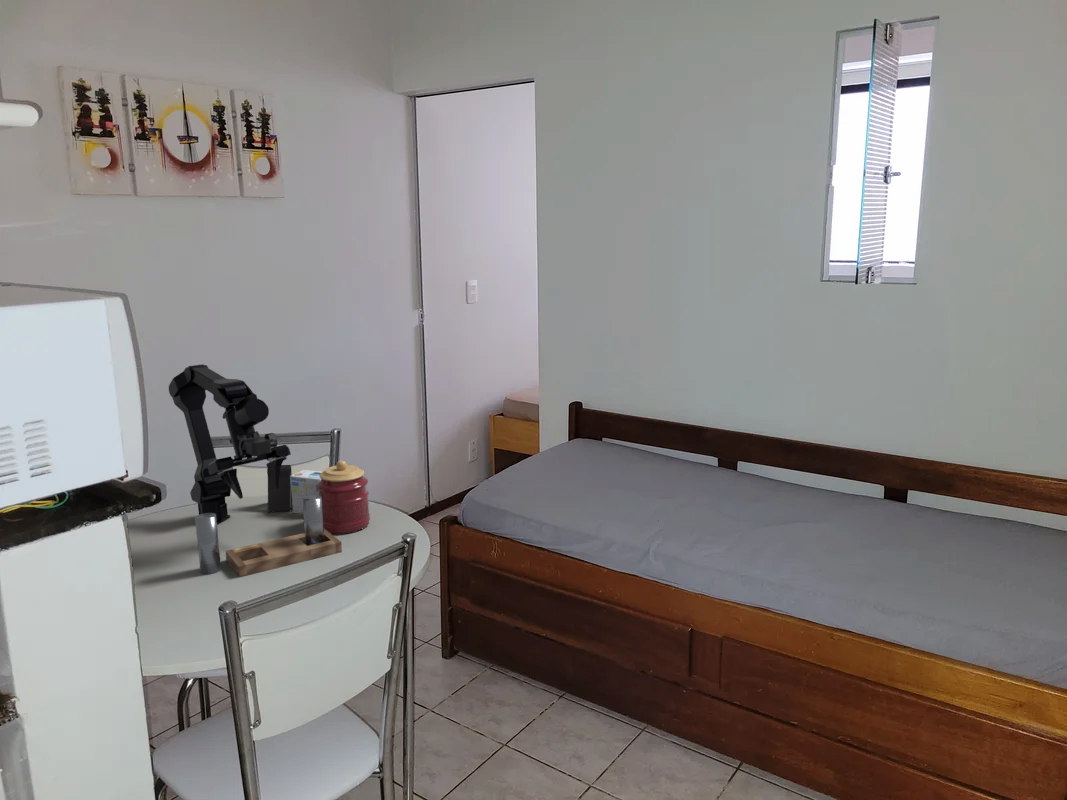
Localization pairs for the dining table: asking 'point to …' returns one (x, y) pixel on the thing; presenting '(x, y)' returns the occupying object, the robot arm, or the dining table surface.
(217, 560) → the cylinder
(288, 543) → the wooden slotted holder
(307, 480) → the light bulb box
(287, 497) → the phone stand
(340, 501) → the canister
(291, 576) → the dining table surface
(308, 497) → the cylinder
